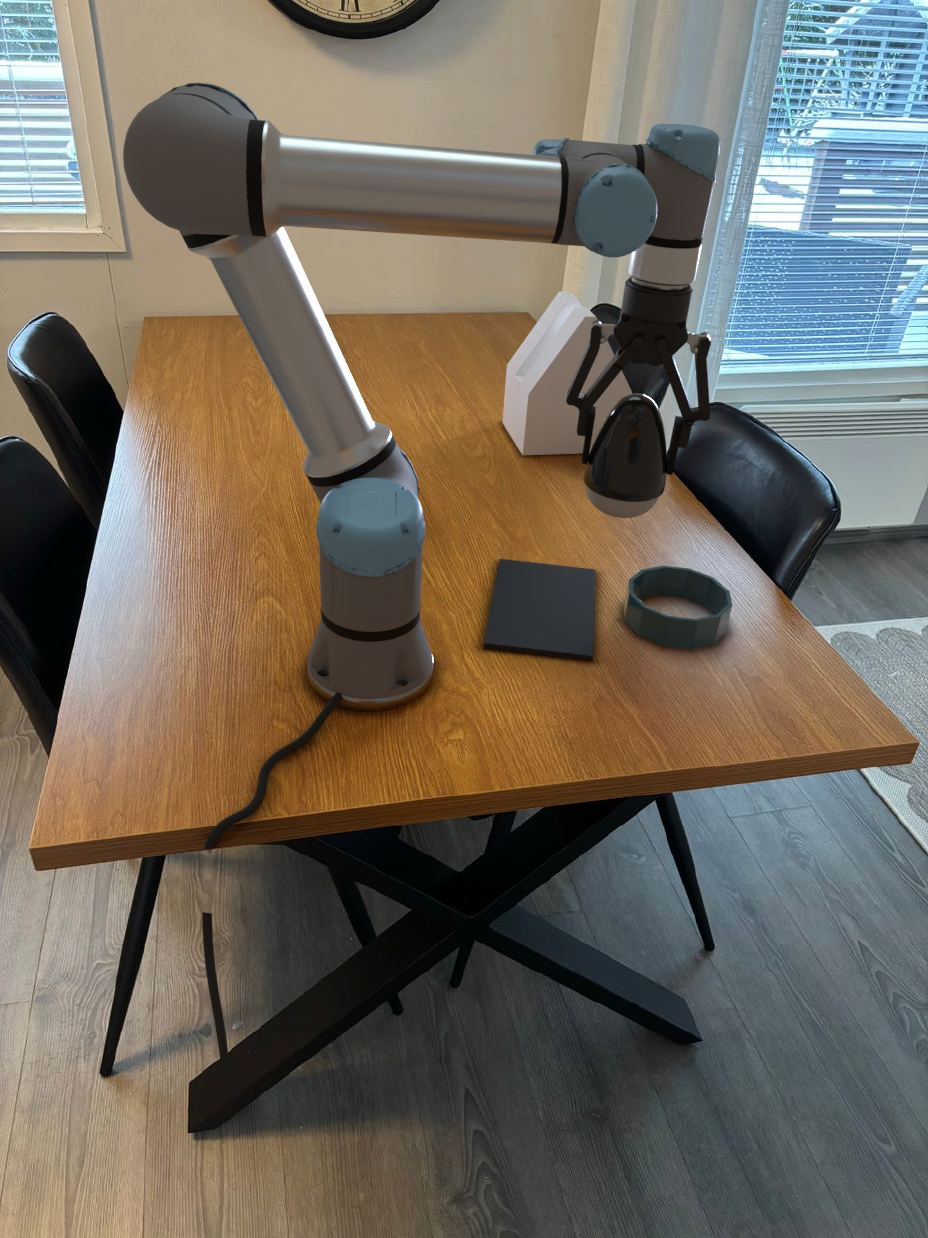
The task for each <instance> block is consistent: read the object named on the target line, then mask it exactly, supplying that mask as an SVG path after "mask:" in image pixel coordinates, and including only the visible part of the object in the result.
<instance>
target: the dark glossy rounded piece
mask: <svg viewBox="0 0 928 1238" xmlns="http://www.w3.org/2000/svg"><path fill="white" fill-rule="evenodd" d="M666 439H667V438H666V430H665V424H664V421H663V416H662V414H661V410H660V409H659V406H658V404H657V403H656V401H655V400H654V399H652V398H651V396H650V397H649V396H648V395H646V394H643V393H638V392H637V393H632V394H629V395H627V396H624V397H623V398H621V399H620V400H619V401H618V402H617V403H616V404H615V405H614V407H613V408H612V409H611V410H610V412H609V413H608V415H607V417H606V418H605V420H604V422H603V424H602V426H601V428H600V430H599V432H598V434H597V436H596V439H595V441H594V443H593V446H592V448H591V451H590V453H589V459H588V465H587V464H585V466H584V471H583V477H582V478H583V483H584V484H585V491H586V495H587V498H588V500H589V501H590V503H591V504H592V505H593V506H594V508H596V509H597V510H598V511H600V512H601V513H603V514H605V515H608V516H610V517H613V518H619V519H631V518H636V517H640V516H642V515H645V514H646V513H648V512H649V511H651V509H653V508H654V506H655V505H656V504H657V502H658V501H659V498H660V497H661V496H662V495H663V494H664V492H665V489H666V483H667V474H666V469H667V455H668V451H667V441H666Z"/></svg>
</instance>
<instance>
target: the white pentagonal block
mask: <svg viewBox="0 0 928 1238" xmlns="http://www.w3.org/2000/svg"><path fill="white" fill-rule="evenodd" d="M596 320H598V317H597V316H596V315H595V314H594V313H593V312H592V311H591V310H590V309H589V308H588V307H586V306H582V304H581V302H580V300H579V299H578V298H577V297H576V296H575V295H574V294H573V293H572V292H570V291H558V292H557V294H556V295H555V296H554V297H553V299H552V301H551V302H550V304H548V306H547V308H546V309H545V311H544V312H543V314H541V316H540V318H539V319H538V320H537V322H536V323H535V325H534V326H533V327H532V329H531V330H530V331H529V333H528V335H527V336H526V337H525V339H524V340H523V342H522V343H521V344H520V346H519V347H518V349H517V350H516V352H515V353H514V354H513V356H512V357H511V358H510V359H509V361H508V362H507V364H506V371H505V386H504V398H503V408H502V425H503V426H504V428H505V429H506V431H507V433H508V434H509V437H511V440H512V441H513V442H514V444H515V446H516V447H517V449H518V450H519V452H520V454H521V456H543V455H570V454H571V455H573V454H574V455H575V454H582V452H583V446H584V439H585V436H578V435H577V424H578V417H579V409H578V408H577V407H575V406H573V405H568V404H567V403H566V397H567V391H568V389H569V387H570V385H571V382H572V380H573V378H574V375H575V373H576V371H577V369H578V366H579V364H580V362H581V360H582V357H583V355H584V353H585V350H586V348H587V346H588V344H589V341H590V336H591V324H592V322H593V321H596ZM614 355H615V353H614V351H613V349H612V347H611V345H610V343H609V341H608V340H607V342H606V343H604V344H600V348H599V351H598V354H597V356H596V358H595V361H594V363H593V365H592V367H591V370H590V372H589V374H588V376H587V379H586V381H585V383H584V385H583V388H582V390H581V392H580V394H581V395H583V396H584V394H585V393H586V392H587V391H588V389H589V388H590V387H591V385H592V384H593V383H594V382H595V380H596V379H597V378H598V377H599V375H600V374H601V373H602V371H603V370H604V369H605V368H606V366H607V365H608V364H609V362H610V361H611V360H612V359H613V357H614ZM629 394H633V391H632V389H631V386H630V384H629V382H628V380H627V378H626V376H625V374H624V372H623V369H622V370H621V371H620V373H619V374H618V375H617V376H616V378H615V379H614V380H613V381H612V383H611V384H610V385H609V386H608V388H607V389H606V390H605V391H604V393H603V394H602V395H601V396H600V398H599V399H598V400H597V402H596V403H595V404H594V405H593V406H595V407H596V412H595V420H594V427H593V433H592V439H591V446H590V451H591V448H592V446H593V443H594V441H595V439H596V436H597V434H598V432H599V430H600V428H601V426H602V424H603V422H604V420H605V418H606V417H607V415H608V413H609V412H610V410H611V409H612V408H613V407H614V405H615V404H616V403H617V402H618V401H619V400H620V399H621V398H623V397H624V396H627V395H629ZM589 454H590V452H589Z"/></svg>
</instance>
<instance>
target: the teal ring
mask: <svg viewBox="0 0 928 1238" xmlns="http://www.w3.org/2000/svg"><path fill="white" fill-rule="evenodd" d="M625 594H626V595H625V600H624V605H623V617H624V618H623V619H624V623H625V624H626V625H627V626H628V627H629V628H630V629H631V630H632V631H633V632H634V633H635V634H636V635H637V636H638V637H640V638H643V639H645V640H647V641H650V642H652V643H654V644H657V645H659V646H661V647H666V648H674V649H683V650H696V649H699V648H704V647H705V648H706V647H710V646H713V645H716V643H717V642H718V641H719V640H720V639H721V638H722V637H723V636H724V635H725V634H726V632H727V629H728V625H729V620H730V617H731V613H732V609H733V600H732V596H731V591H730V590H729V589H728V588H727V587H726V586H725V585H723V584H722V582H720V581H719V580H717V578H715V577H713V576H712V575H708V574H706V573H703V572H701V571H698V570H695V569H692V568H689V567H682V566H681V567H680V566H671V565H658V566H654V567H648V568H642V569H640V570H639V571H638V572H636V573H635V574H634V575H632V577H630V578H629V579H628V583H627V588H626V593H625ZM655 596H667V597H668V596H669V597H677V598H684V599H687V600H689V601H691V602H694V603H696V604H699V605H701V606H703V607H705V608H706V609H708V610H709V612H711V613H712V615H708V616H703V617H697V618H693V617H684V616H676V615H669V614H667V613H664V612H662V611H659V610H657V609H654V608H652V607H650V606H647V605H646V604H645V603H644V602H643V601H642V600H641V599H644V598H650V597H655Z"/></svg>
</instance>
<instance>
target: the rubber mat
mask: <svg viewBox="0 0 928 1238" xmlns="http://www.w3.org/2000/svg"><path fill="white" fill-rule="evenodd" d="M595 586H596V569H594V568H586V567H578V566H577V567H576V566H570V565H569V566H568V565H561V564H560V565H559V564H550V563H541V562H533V561H525V560H524V561H523V560H515V559H507V558H499V561H498V566H497V571H496V577H495V581H494V586H493V592H492V597H491V603H490V608H489V612H488V613H489V614H488V617H487V618H488V619H487V623H486V629H485V633H484V639H483V646H482V649H487V650H488V649H489V650H497V651H505V652H513V653H521V654H530V655H539V656H546V657H555V658H556V657H557V658H564V659H571V660H581V661H590V662H593V659H594V637H595V636H594V634H595V630H594V629H595V593H596V587H595Z"/></svg>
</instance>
